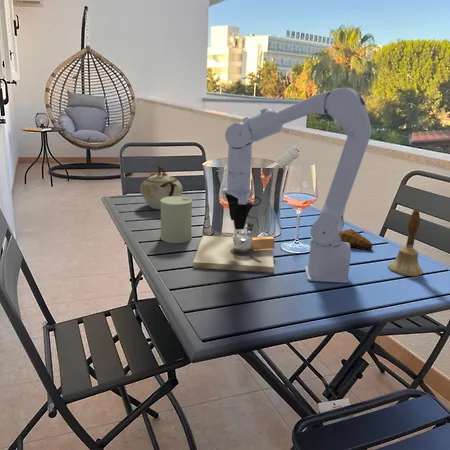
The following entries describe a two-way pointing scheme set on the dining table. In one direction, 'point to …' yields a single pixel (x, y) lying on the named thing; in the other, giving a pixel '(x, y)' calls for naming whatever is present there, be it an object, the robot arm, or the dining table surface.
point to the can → (176, 219)
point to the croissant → (355, 239)
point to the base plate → (231, 256)
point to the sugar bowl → (160, 188)
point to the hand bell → (408, 251)
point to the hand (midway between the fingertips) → (237, 224)
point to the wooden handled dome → (252, 244)
